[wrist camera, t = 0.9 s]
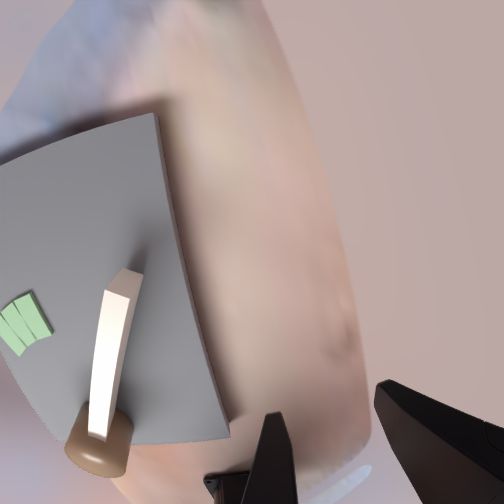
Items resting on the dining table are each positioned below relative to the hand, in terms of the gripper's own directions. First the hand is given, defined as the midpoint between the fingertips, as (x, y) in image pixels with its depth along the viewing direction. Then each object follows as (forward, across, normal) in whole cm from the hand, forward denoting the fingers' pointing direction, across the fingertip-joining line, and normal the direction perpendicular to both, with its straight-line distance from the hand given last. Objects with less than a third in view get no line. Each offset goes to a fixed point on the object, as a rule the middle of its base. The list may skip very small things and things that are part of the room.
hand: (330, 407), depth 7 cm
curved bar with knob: (+9, +11, +4) cm, 15 cm away
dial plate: (+11, +12, +1) cm, 17 cm away
